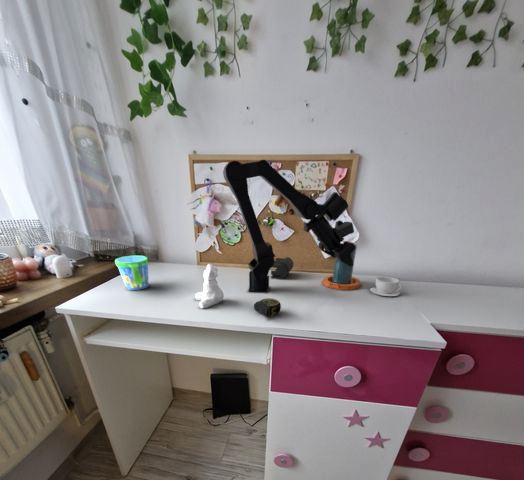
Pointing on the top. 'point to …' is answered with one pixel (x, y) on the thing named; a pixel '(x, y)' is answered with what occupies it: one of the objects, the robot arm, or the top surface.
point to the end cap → (281, 267)
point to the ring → (341, 286)
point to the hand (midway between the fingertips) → (347, 263)
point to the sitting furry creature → (210, 289)
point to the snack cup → (133, 271)
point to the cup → (343, 271)
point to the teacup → (386, 286)
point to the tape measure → (268, 307)
